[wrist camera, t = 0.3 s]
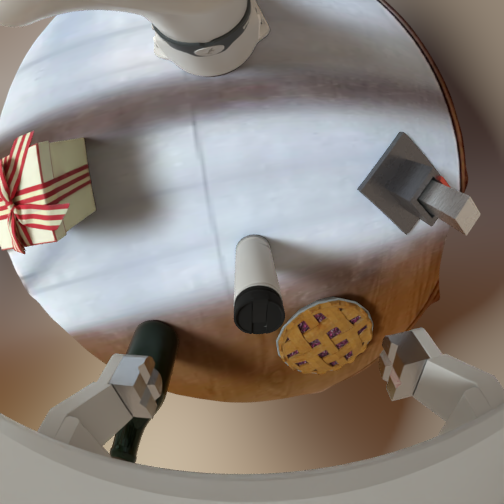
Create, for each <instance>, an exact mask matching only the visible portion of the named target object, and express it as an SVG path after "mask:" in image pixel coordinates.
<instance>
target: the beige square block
mask: <svg viewBox="0 0 504 504" xmlns="http://www.w3.org/2000/svg"><path fill="white" fill-rule="evenodd" d="M417 201H418V202H419V203H420V205H421V206H422V207H423V208H424V209H425V210H426V211H427V212H429V213H431V214H432V215H434V216H436V217H438V218H439V219H441V220H442V221H444V222H446V223H447V224H449V225H451V226H452V227H454V228H455V229H457V230H458V231H460V232H462V233H463V234H465V235H467V234H468V233H469V231H470V230H471V228H472V227H473V225H474V224H475V222H476V221H477V219H478V218H479V216H480V215H481V214H480V212H479V210H478V209H477V207H476V205H475V203H474V202H473V200H472V199H471V197H470V196H468V195H466V194H464V193H462V192H459V191H457V190H455V189H452V188H450V187H448V186H445V185H443V184H441V183H438V182H436V181H433V180H431V181H430V182H429V183H428V185H427V186H426V188H425V189H424V190H423V192H422V193H421V195H420V196H419V197H418V199H417Z"/></svg>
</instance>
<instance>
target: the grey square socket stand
mask: <svg viewBox="0 0 504 504" xmlns="http://www.w3.org/2000/svg"><path fill="white" fill-rule="evenodd" d="M431 180H433V181H436V182H438V183H441V184H443V185H445V186H448V187H450V186H449V185H448V183H447V182H446V181H445V179H444V178H443V177H442V176H440V174H439V173H438V172H437V171H436V169H435V168H434V167H433V165H432V164H431V163H430V162H429V160H428V159H427V158H426V157H425V156H424V154H423V153H422V152H421V151H420V150H419V149H418V147H417V146H416V145H415V144H414V143H413V142H412V141H411V139H410V138H409V137H408V136H407V135H406V134H405V133H404V132H399V134H398V135H397V136H396V138H395V139H394V141H393V142H392V143H391V145H390V146H389V147H388V149H387V150H386V152H385V153H384V154H383V156H382V157H381V158H380V160H379V161H378V162H377V164H376V165H375V166H374V168H373V169H372V170H371V172H370V173H369V174H368V176H367V177H366V178H365V180H364V181H363V182H362V184H361V185H360V186H359V188H358V189H357V190H359V191H360V192H361V193H362V194H363V195H364V196H365V197H366V198H368V199H369V200H370V201H371V202H372V203H373V204H374V205H375V206H376V207H377V208H379V209H380V210H381V211H382V212H383V213H384V214H385V215H386V216H387V217H388V218H389V219H390V220H391V221H392V222H393V223H394V224H395V225H396V226H397V227H398V228H399V229H400V230H401V231H402V232H404V233H405V234H406V235H407V233H408V232H409V231H410V229H411V228H412V227H413V225H414V224H415V223H416V222H417V220H418V219H421V220H422V221H424V222H426V223H427V224H429V225H430V226H433V224H434V223H435V222H436V220H437V219H438V217H436V216H434V215H432V214H431V213H429V212H427V211H426V210H425V209H424V208H423V207H422V206H421V205H420V203H419V202H418V201H417V199H418V197H419V196H420V195H421V193H422V192H423V190H424V189H425V188H426V186H427V185H428V183H429V182H430V181H431ZM450 188H451V187H450Z"/></svg>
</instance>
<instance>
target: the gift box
mask: <svg viewBox="0 0 504 504" xmlns="http://www.w3.org/2000/svg"><path fill="white" fill-rule="evenodd" d="M33 134H34V131H32V132H30V133H27V134H25V135H22V136H20V137H18V138H16V139H15V140H14V143H13V146H12V149H11V152H10V155H9V156H7V157H5V158H3V159H1V160H0V245H1V248H2V250H8V249H14V250H15V251H17V252H20V253H23V254H25V251H24V250H25V248H24V247H27V246H33V245H38V244H44V243H51V242H57V241H58V240H60V239H61V238H63V237H64V236H65V235H66V232H67V231H68V230H69V229H71V228H72V227H73V226H75V225H76V224H78V223H79V222H80V221H82V220H83V219H85V218H86V217H87V216H89V215H90V214H92V213H93V212H95V211H96V207H95V202H94V196H93V191H92V186H91V179H90V175H89V167H88V161H87V154H86V147H85V140H84V138H78V139H71V140H65V141H59V142H53V143H49V141H45V142H40V143H36V144H34V145H32V146H30V144H31V140H32V137H33Z"/></svg>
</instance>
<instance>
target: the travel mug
mask: <svg viewBox="0 0 504 504" xmlns="http://www.w3.org/2000/svg"><path fill="white" fill-rule="evenodd" d="M284 319H285V313H284V308H283V302H282V297H281V292H280V288H279V283H278V279H277V274H276V270H275V265H274V261H273V256H272V252H271V248H270V245H269V243H268V241H267V240H266V239H265V238H263V237H261V236H258V235H249V236H246V237H244V238H242V239H241V240H240V241H239V242H238V244H237V247H236V258H235V284H234V322H235V324H236V326H237V327H238V328H239V329H240V330H241V331H243V332H245V333H249V334H251V333H253V334H264V333H266V334H267V333H271V332H273V331H275V330H277V329H278V328H279V327H280V326H281V325H282V324H283V322H284Z"/></svg>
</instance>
